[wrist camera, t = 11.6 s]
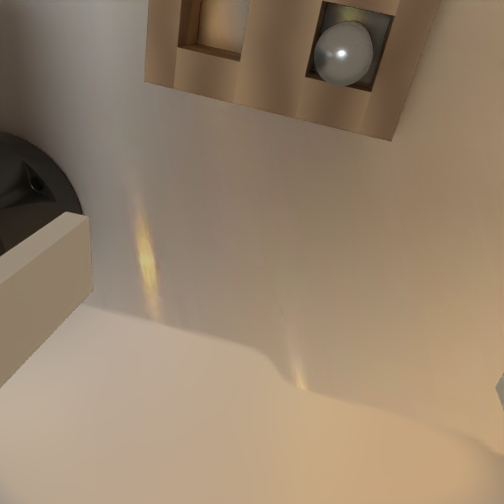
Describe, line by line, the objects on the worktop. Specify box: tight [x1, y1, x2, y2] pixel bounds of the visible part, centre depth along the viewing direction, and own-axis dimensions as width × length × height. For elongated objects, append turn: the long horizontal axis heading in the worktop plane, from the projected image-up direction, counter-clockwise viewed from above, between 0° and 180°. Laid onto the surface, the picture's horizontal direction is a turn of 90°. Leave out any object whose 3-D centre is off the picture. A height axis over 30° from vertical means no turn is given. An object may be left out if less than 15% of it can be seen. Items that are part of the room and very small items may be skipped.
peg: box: [314, 20, 373, 86], centre depth 27 cm, size 3×3×10 cm
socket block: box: [144, 0, 440, 141], centre depth 30 cm, size 18×10×4 cm, turn 79°
